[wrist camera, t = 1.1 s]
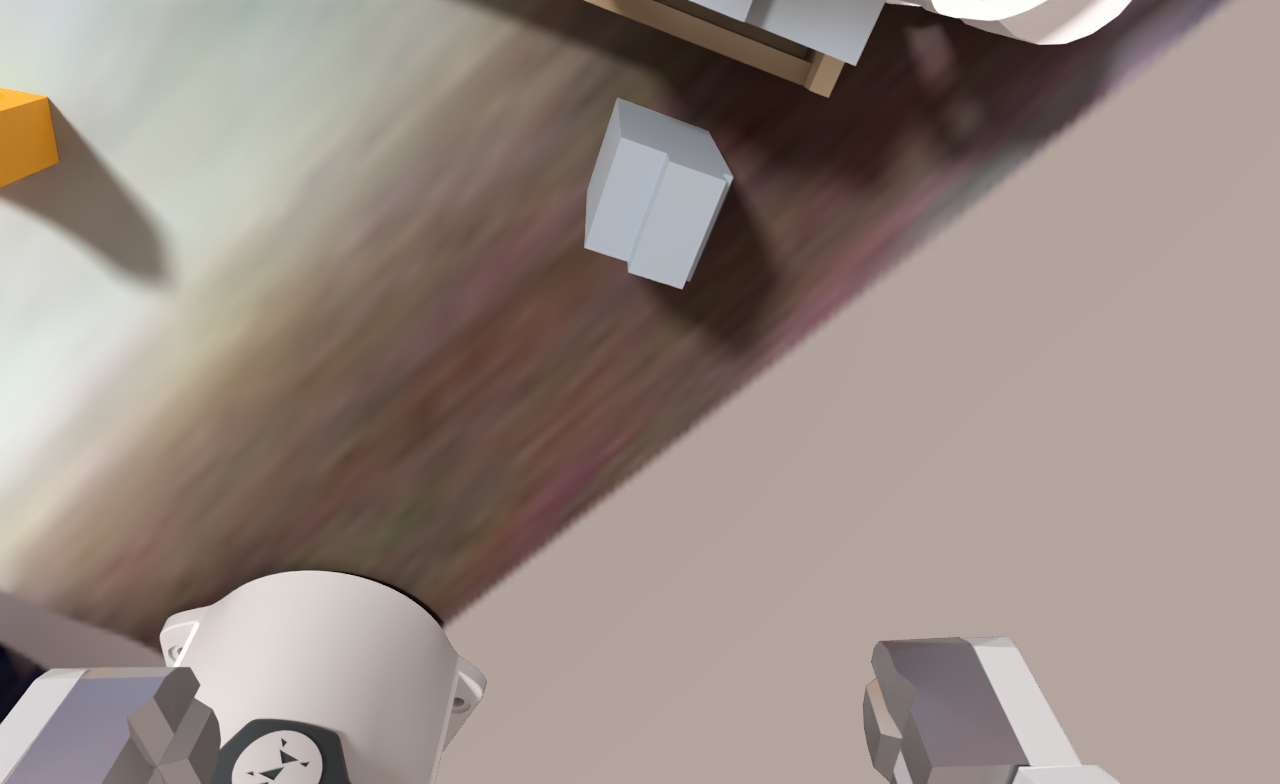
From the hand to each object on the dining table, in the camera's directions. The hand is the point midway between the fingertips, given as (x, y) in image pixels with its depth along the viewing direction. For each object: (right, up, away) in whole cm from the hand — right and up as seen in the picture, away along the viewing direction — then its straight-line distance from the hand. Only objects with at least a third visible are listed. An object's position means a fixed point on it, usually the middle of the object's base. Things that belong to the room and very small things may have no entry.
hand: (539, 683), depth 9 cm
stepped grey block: (+2, +13, +23) cm, 27 cm away
